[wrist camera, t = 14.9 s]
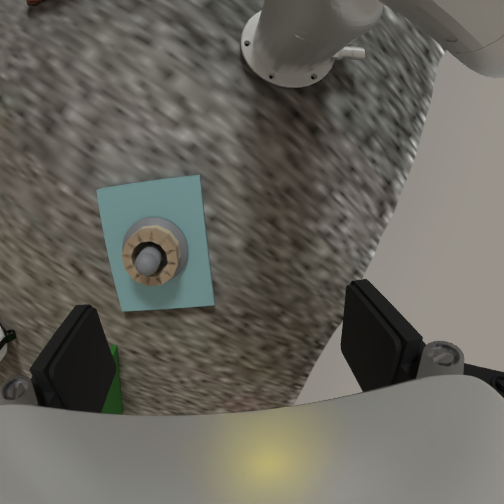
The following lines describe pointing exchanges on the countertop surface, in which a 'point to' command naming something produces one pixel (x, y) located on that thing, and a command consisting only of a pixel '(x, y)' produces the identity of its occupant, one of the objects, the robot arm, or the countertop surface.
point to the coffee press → (5, 341)
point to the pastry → (33, 2)
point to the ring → (160, 238)
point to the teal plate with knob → (151, 254)
